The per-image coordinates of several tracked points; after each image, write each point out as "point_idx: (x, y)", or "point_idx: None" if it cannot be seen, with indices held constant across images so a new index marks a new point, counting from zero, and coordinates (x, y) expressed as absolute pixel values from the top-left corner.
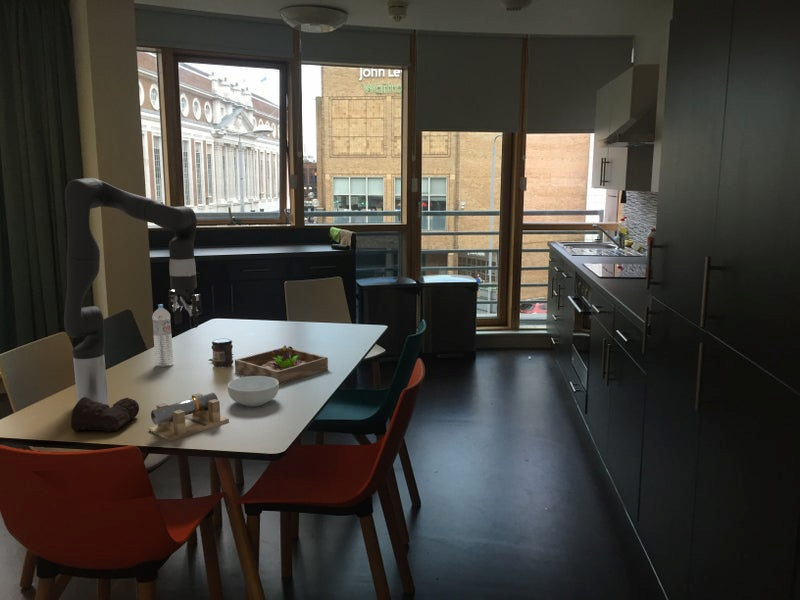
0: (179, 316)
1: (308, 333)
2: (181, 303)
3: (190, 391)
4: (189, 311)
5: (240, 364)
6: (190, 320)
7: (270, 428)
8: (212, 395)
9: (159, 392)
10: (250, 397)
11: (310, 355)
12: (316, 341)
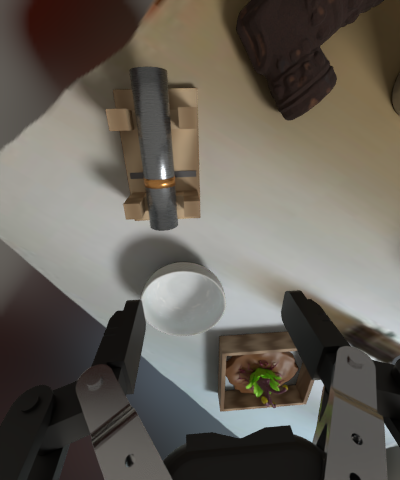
0: (301, 340)
1: None
2: (250, 474)
3: (308, 250)
4: (103, 403)
5: None
6: (122, 334)
7: (65, 244)
8: (155, 223)
9: (352, 215)
10: (150, 277)
11: (250, 405)
12: (313, 428)
